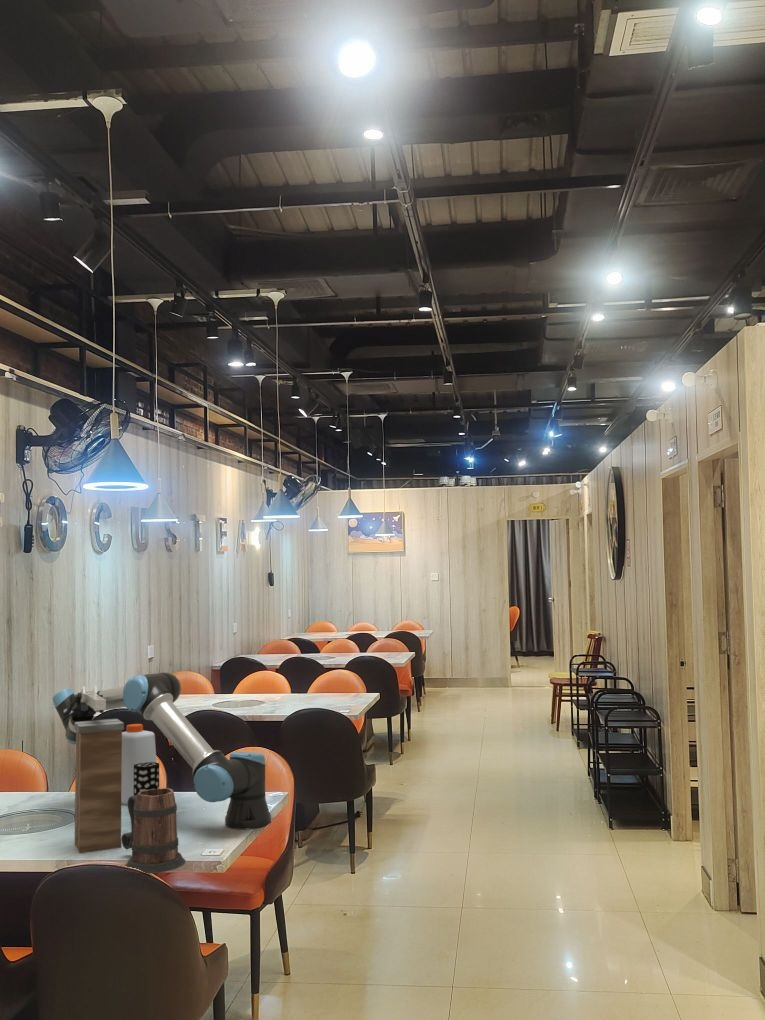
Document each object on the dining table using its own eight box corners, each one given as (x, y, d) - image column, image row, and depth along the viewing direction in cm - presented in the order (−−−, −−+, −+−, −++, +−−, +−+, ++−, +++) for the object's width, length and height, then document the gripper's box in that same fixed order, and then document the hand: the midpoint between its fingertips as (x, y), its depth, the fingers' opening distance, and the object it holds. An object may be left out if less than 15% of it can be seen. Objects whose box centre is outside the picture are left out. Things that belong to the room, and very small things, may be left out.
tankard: (197, 862, 242) (197, 789, 244) (147, 877, 229) (147, 801, 231) (148, 848, 257) (149, 780, 259) (98, 862, 244) (99, 790, 246)
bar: (81, 700, 288) (81, 691, 289) (90, 700, 290) (91, 691, 290) (95, 710, 260) (95, 700, 260) (105, 709, 261) (105, 699, 262)
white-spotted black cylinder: (151, 821, 289) (151, 761, 291) (163, 825, 283) (164, 764, 285) (128, 826, 283) (129, 765, 285) (141, 831, 277) (141, 768, 279)
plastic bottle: (163, 798, 323) (163, 723, 326) (129, 807, 311) (130, 728, 314) (138, 794, 332) (139, 721, 335) (105, 801, 320) (105, 726, 324)
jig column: (72, 843, 265) (74, 721, 269) (115, 837, 270) (116, 718, 274) (77, 853, 253) (79, 726, 257) (122, 847, 259) (123, 723, 263)
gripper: (105, 726, 301) (115, 698, 284) (57, 730, 293) (64, 701, 277) (104, 707, 305) (114, 677, 288) (56, 710, 297) (63, 680, 281)
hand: (89, 689), depth 282 cm, fingers closed on bar, 3 cm apart
